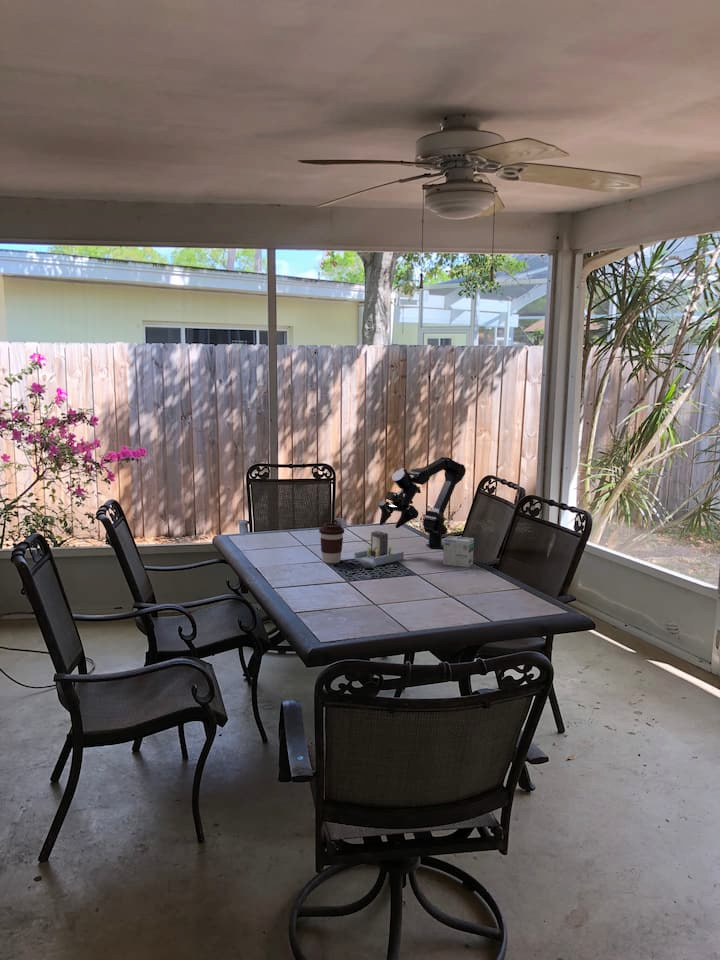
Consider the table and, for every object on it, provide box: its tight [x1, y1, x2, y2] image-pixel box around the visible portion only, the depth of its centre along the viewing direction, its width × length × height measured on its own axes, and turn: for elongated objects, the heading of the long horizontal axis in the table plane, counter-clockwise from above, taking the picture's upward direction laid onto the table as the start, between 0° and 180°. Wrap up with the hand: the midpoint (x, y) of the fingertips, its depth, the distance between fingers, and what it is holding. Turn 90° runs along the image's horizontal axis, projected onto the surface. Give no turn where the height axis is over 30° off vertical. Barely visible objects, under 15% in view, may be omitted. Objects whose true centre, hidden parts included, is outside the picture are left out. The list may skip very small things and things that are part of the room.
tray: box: [354, 546, 404, 567], centre depth 307 cm, size 16×12×5 cm
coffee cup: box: [318, 522, 345, 564], centre depth 302 cm, size 10×10×15 cm
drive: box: [370, 530, 389, 557], centre depth 307 cm, size 4×6×10 cm, turn 43°
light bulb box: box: [442, 535, 475, 568], centre depth 302 cm, size 11×7×11 cm, turn 65°
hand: (388, 526), depth 308 cm, fingers open, 9 cm apart
